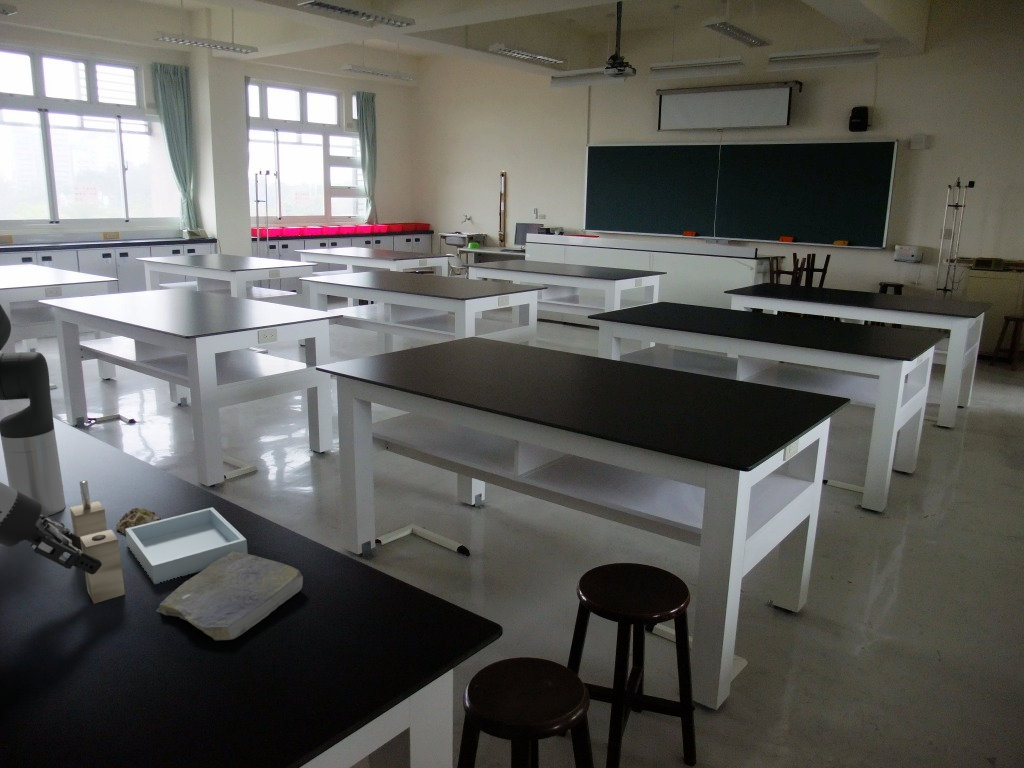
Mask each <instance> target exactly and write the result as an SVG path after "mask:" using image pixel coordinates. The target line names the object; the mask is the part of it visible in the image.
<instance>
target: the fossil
mask: <svg viewBox="0 0 1024 768" xmlns="http://www.w3.org/2000/svg"><path fill="white" fill-rule="evenodd" d="M247 553H248V552H247ZM247 553H242V552H236V551H233V552H231V553H230V554H228V555H226V556H223V557H222V558H220V559H218V560H216V561H215V562H213V563H212V564H210V565H209V566H208V567H207V568H205V569H204V570H202V571H199V572H197V574H195V575H194V576H192V577H190V578H189V579H187V580H186V581H184V582H182V584H181V585H179V586H178V587H177V588H176V589H174V590H173V591H172V592H171V593H170V594H169V595H168V596H166V598H165V599H163V601H161V602H160V603H159V607H158V608H157V609H156V610H155V612H157V613H159V614H163V615H164V616H171V617H179V619H182V620H184V621H187V622H188V623H190V624H191V625H192V626H194V627H195V628H196V629H199V630H200V631H202V632H203V634H205V635H207V636H208V637H210V638H212V639H213V640H214V641H231V640H235V639H236V638H238V637H240V636H241V635H243V634H244V633H246V632H247V631H248V630H249V629H251V628H253V627H254V626H255V625H257V624H258V623H260V622H261V621H262V620H263V619H265V618H266V617H268V616H269V615H270V614H271V613H272V612H274V611H275V610H277V608H278V607H279V606H281V605H283V604H284V603H285V602H287V601H288V600H290V599H291V598H292V597H293V596H295V595H296V594H298V593H299V592H300V591H302V589H303V583H304V582H303V581H304V576H303V574H302V573H301V571H300V570H299V569H298V568H296V567H294V566H291V565H289V564H285V562H284V563H283V562H280V561H276V560H272V559H269V558H265V557H261V556H258V555H254V554H250V553H248V554H247Z"/></svg>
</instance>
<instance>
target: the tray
mask: <svg viewBox="0 0 1024 768" xmlns="http://www.w3.org/2000/svg"><path fill="white" fill-rule="evenodd" d="M125 531H126V534H125V538H126V545H128V546H127V547H129V548H130V549H129V548H128V549H129V550H130V552H131V551H132V552H131V554H132V555H133V554H134V555H135V556H134V555H133V556H134V557H135V559H136V558H137V559H136V560H137V562H138V561H139V562H140V563H139V562H138V563H139V565H142V566H141V567H142V569H143V568H144V569H143V570H144V572H145V571H146V572H147V573H146V572H145V573H146V575H147V576H148V575H149V576H148V577H149V579H150V578H151V579H150V580H151V581H152V583H153V585H158V584H160V582H162V583H164V582H163V581H165V582H167V581H166V580H168V581H170V579H172V580H174V579H173V578H175V579H178V578H177V577H179V578H181V577H180V576H182V577H185V576H188V574H189V575H191V574H196V573H200V572H201V571H203V570H204V569H205V568H207V567H208V566H209V565H210V564H212V563H213V562H215V561H216V560H218V559H220V558H222V557H223V556H226V555H228V554H230V553H231V552H233V551H236V552H242V553H247V554H249V552H248V544H247V543H248V542H247V541H248V540H247V539H246V538H245V536H243V535H242V534H241V532H239V531H238V530H237V529H236V528H235V527H234V526H233V525H232V524H231V523H230V522H229V521H227V519H225V518H224V516H222V515H221V514H220V513H219V512H218V511H217V510H216V509H215V508H214V507H208V508H204V509H200V510H196V511H193V512H187V513H183V514H179V515H175V516H172V517H168V518H163V519H161V520H159V521H155V522H151V523H147V524H143V525H139V526H135V527H131V528H127V529H125Z"/></svg>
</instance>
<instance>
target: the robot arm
mask: <svg viewBox="0 0 1024 768" xmlns="http://www.w3.org/2000/svg"><path fill="white" fill-rule="evenodd" d="M11 332H12V325H11V321H10V319H9V316H8V315H7V313H6V311H5V310H4V308H3V306H2V305H1V303H0V352H1V350H2V349H3V348H4V347H5V346H6V345H7V342H8V340H9V339H10V336H11ZM45 357H46V356H44V355H43V353H41V352H39V351H23V352H22V351H21V352H2V353H0V401H12V400H27V399H28V400H29V405H28V406H26V407H25V408H23V409H22V410H20V411H17V412H15V413H12V414H9V415H7V416H4V417H3V418H1V419H0V441H1V446H2V447H1V448H2V452H3V458H4V464H5V465H4V466H5V470H6V476H7V482H8V485H6V484H5V483H3V482H1V481H0V544H1V545H2V546H4V547H7V548H12V547H15V546H16V545H18V544H20V542H22V541H25V540H26V541H28V542H29V543H30V544H29V546H30V547H31V548H33V552H34V553H35V554H37V555H40V556H41V557H44V558H46V559H48V560H50V561H52V562H54V563H55V564H58V565H60V566H62V567H64V568H65V569H68V570H71V568H73V567H75V568H78V569H80V570H82V571H84V573H85V572H87V573H89V574H95V573H96V572H97V571H98V569H99V568H100V567H101V565H102V563H101V562H100V561H99V560H97V559H95V558H93V557H91V556H89V555H87V554H85V553H83V552H82V548H81V541H80V537H79V536H77V535H75V534H74V533H73V532H71V530H70V529H69V528H67V527H66V525H64V523H62V522H60V521H58V520H56V519H54V518H52V517H50V516H52V515H55V514H57V513H59V512H61V511H63V510H64V509H65V507H66V499H65V491H64V484H63V478H62V470H61V465H60V458H59V456H60V455H59V452H58V451H59V450H58V445H57V438H56V432H55V431H56V430H55V423H54V415H53V412H54V411H53V406H52V398H51V397H52V396H51V385H50V383H51V382H50V372H49V366H48V362H47V359H46V358H45ZM64 553H67V554H69V555H68V557H66V556H64Z"/></svg>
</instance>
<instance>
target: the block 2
mask: <svg viewBox="0 0 1024 768" xmlns="http://www.w3.org/2000/svg"><path fill="white" fill-rule="evenodd" d="M80 541H81V548H82V552H83V553H85V554H87V555H89V556H91V557H93V558H95V559H97V560H99V561H100V562H101V563H102V565H101V567H100V568H99V569H98V571H97V572H96V573H95V574H89V573H87V572H85V571H84V574H85V582H86V583H85V584H86V588H87V593H88V595H89V597H90V599H91V600H92V603H93V602H94V603H93V604H97V603H100V602H104V601H107V600H111V599H113V598H117V597H121V596H124V595H126V591H125V584H124V576H123V575H124V574H123V569H122V561H121V553H120V546H119V538H118V537H117V536H116V534H115V532H114V531H113V530H112V529H107V530H106V531H102V532H98V533H94V534H90V535H85V536H81V537H80Z"/></svg>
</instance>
